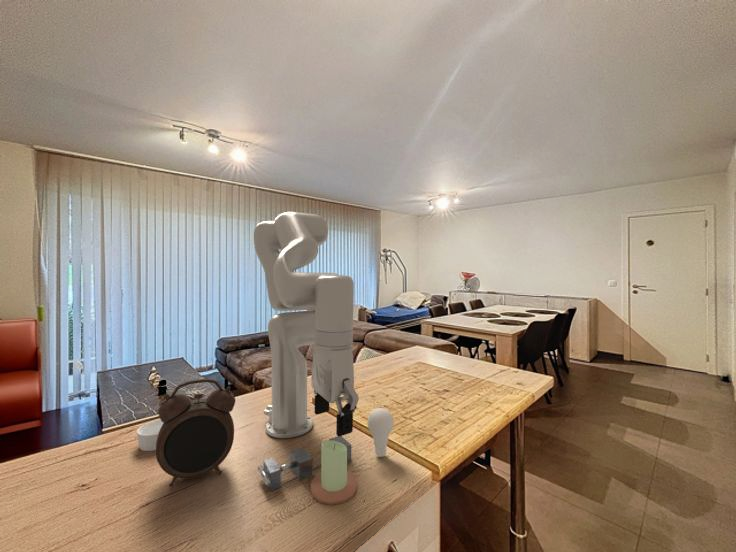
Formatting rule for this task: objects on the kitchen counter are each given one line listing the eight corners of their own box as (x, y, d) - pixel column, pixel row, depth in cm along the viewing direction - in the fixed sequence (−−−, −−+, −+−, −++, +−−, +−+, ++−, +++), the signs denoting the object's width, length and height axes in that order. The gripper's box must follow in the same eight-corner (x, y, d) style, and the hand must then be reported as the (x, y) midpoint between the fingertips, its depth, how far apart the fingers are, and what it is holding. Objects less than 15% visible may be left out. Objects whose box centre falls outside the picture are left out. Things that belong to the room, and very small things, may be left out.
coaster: (301, 493, 60) (301, 488, 60) (329, 468, 68) (329, 463, 68) (340, 511, 56) (340, 505, 56) (365, 482, 63) (365, 477, 63)
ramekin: (144, 457, 72) (144, 438, 72) (131, 445, 77) (131, 427, 77) (185, 441, 79) (185, 424, 79) (170, 430, 85) (170, 414, 85)
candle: (339, 472, 65) (339, 433, 65) (351, 486, 61) (351, 444, 61) (317, 480, 62) (317, 439, 62) (328, 496, 58) (327, 452, 58)
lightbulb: (392, 465, 69) (392, 416, 69) (364, 462, 70) (364, 413, 70) (395, 450, 75) (395, 404, 75) (370, 447, 76) (370, 402, 76)
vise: (257, 477, 65) (257, 460, 65) (339, 448, 75) (339, 434, 75) (265, 494, 60) (265, 476, 60) (352, 461, 70) (352, 445, 70)
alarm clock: (153, 498, 59) (153, 392, 59) (158, 476, 65) (158, 380, 65) (236, 475, 66) (236, 380, 65) (234, 457, 72) (234, 370, 72)
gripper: (299, 331, 67) (298, 409, 68) (337, 350, 52) (336, 450, 53) (331, 327, 71) (329, 402, 72) (374, 345, 57) (372, 437, 57)
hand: (332, 422), depth 62 cm, fingers open, 9 cm apart
